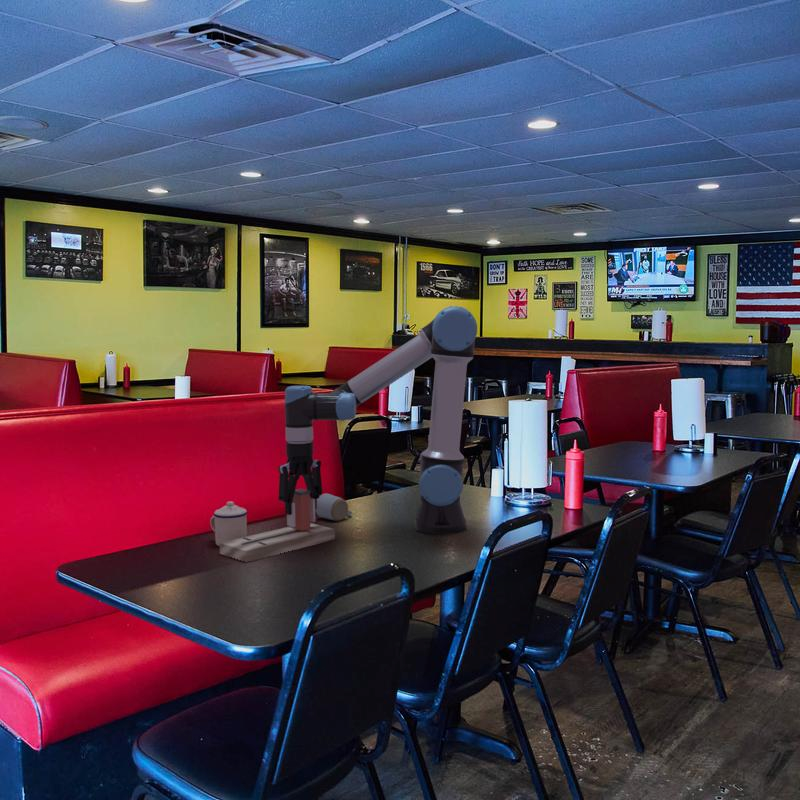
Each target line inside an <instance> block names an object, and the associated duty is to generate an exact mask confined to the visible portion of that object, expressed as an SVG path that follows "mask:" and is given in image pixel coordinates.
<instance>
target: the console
mask: <svg viewBox="0 0 800 800" xmlns="http://www.w3.org/2000/svg"><path fill="white" fill-rule="evenodd" d="M335 530H336V529H335V528H332V527H328V526H323V525H320V524H316V523H313V522H310V529H308V530H304V531H300V530H296V529H293V527H292V526H286V527H285V526H284V527H281V528H277V529H273V530H269V531H268V530H267V531H264V532H260V533H259V532H258V533H255V534H251V535H247V536H246V537H242V538H238V539H234V540H229V541H225V542H221V543H219V544H220V546H219V555H222V556H226V557H228V558H231V557H232V558H231V559H234V558H235V560H237V559H238V561H240V560H241V562H243V561H244V563H246V562H247V563H250V562H253V561H257V560H262V559H266V558H268V557H269V556H270V557H273V556H277V555H281V554H284V552H285V553H288V551H289V552H292V550H293V551H296V550H301V549H304V548H308V547H311V546H315V545H319V544H322V543H327V542H330V541H335V540H336V531H335ZM280 553H281V554H280ZM249 561H250V562H249Z"/></svg>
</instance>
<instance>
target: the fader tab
mask: <svg viewBox="0 0 800 800" xmlns="http://www.w3.org/2000/svg"><path fill="white" fill-rule="evenodd" d="M310 494H311V491H309V490H307V489H303V488H298V489H295V493H294V497H293V502H292V503H295V524H296V526H295V527H293V529H296V530H300V531H304V530H308V529H310V523H311V521H310Z"/></svg>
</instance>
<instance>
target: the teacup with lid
mask: <svg viewBox="0 0 800 800" xmlns="http://www.w3.org/2000/svg"><path fill="white" fill-rule="evenodd" d="M213 513H214V514H213V515H212V517H211V518H210V520H209V524H210V527H211V529H212V531H213V532H214V534H215V535H214V536H215V537H214V538H215V545H216V546H218V547H220V544H219V543H221V542H225V541H229V540H234V539H238V538H242V537H246V536H248V527H247V526H248V523H247V522H248V521H247V514H248V511H247V509H246V508H244V507H240V506H238V505H236V504H235V503H234V501H227V502H226V504H225V505H224V506H222V507H221V508H219V509H216V510H215V511H214V512H213Z"/></svg>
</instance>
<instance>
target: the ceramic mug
mask: <svg viewBox="0 0 800 800" xmlns="http://www.w3.org/2000/svg"><path fill="white" fill-rule="evenodd" d="M348 504H349V503H347V501H346V500H345V499H343V498H342V497H340V496H335V495H333V494H330V493H322V495H319V498H318V499H317V508H316V509H315V514H317V516H318V517H319V518H322V519H325V520H329V521H334V522H335V521H336V522H341V521H342V520H344V519H345V518H346V517H352V514H353V513H352V511H350V510H349V505H348Z"/></svg>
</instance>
